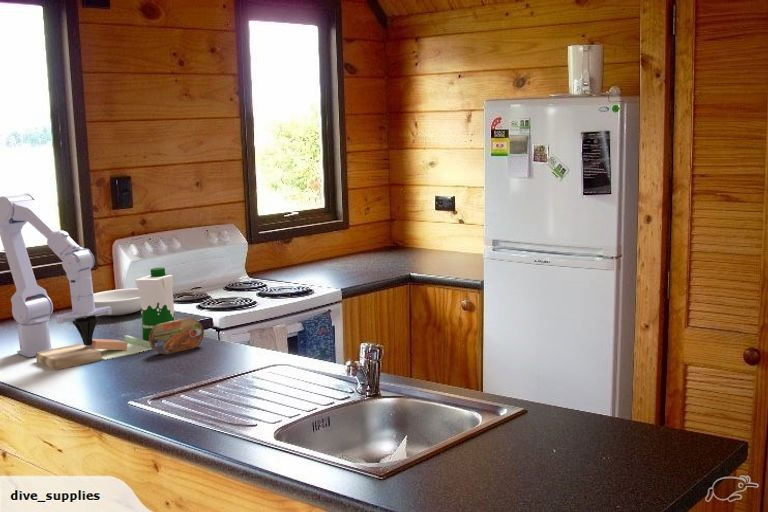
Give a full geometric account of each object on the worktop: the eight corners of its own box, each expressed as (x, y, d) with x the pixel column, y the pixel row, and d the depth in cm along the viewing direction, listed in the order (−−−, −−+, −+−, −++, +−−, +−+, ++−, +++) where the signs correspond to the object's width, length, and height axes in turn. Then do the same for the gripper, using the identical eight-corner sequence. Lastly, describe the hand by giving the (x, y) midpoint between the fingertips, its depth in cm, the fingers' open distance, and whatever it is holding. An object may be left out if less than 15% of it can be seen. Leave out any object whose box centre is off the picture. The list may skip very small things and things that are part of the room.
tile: (86, 345, 247) (87, 338, 247) (117, 347, 253) (118, 339, 253) (95, 348, 243) (96, 341, 243) (126, 350, 248) (127, 342, 249)
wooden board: (36, 361, 243) (35, 352, 243) (80, 352, 251) (79, 343, 250) (56, 370, 232) (55, 360, 232) (101, 360, 240) (100, 350, 240)
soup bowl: (173, 308, 307) (171, 289, 306) (118, 324, 287) (116, 303, 286) (124, 305, 320) (122, 286, 319) (68, 319, 300) (65, 299, 299)
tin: (153, 357, 240) (150, 326, 239) (148, 355, 243) (145, 324, 241) (205, 346, 249) (202, 316, 248) (200, 344, 251) (197, 314, 250)
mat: (80, 351, 252) (79, 345, 252) (127, 341, 261) (127, 335, 261) (105, 360, 240) (104, 353, 239) (153, 349, 249) (153, 342, 248)
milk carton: (181, 335, 264) (175, 267, 261) (163, 342, 256) (156, 272, 253) (156, 334, 268) (150, 267, 265) (137, 341, 259) (130, 272, 257)
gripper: (61, 301, 235) (67, 352, 237) (114, 292, 244) (119, 341, 246) (50, 298, 240) (56, 348, 242) (103, 289, 250) (108, 338, 252)
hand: (87, 344), depth 245 cm, fingers closed
